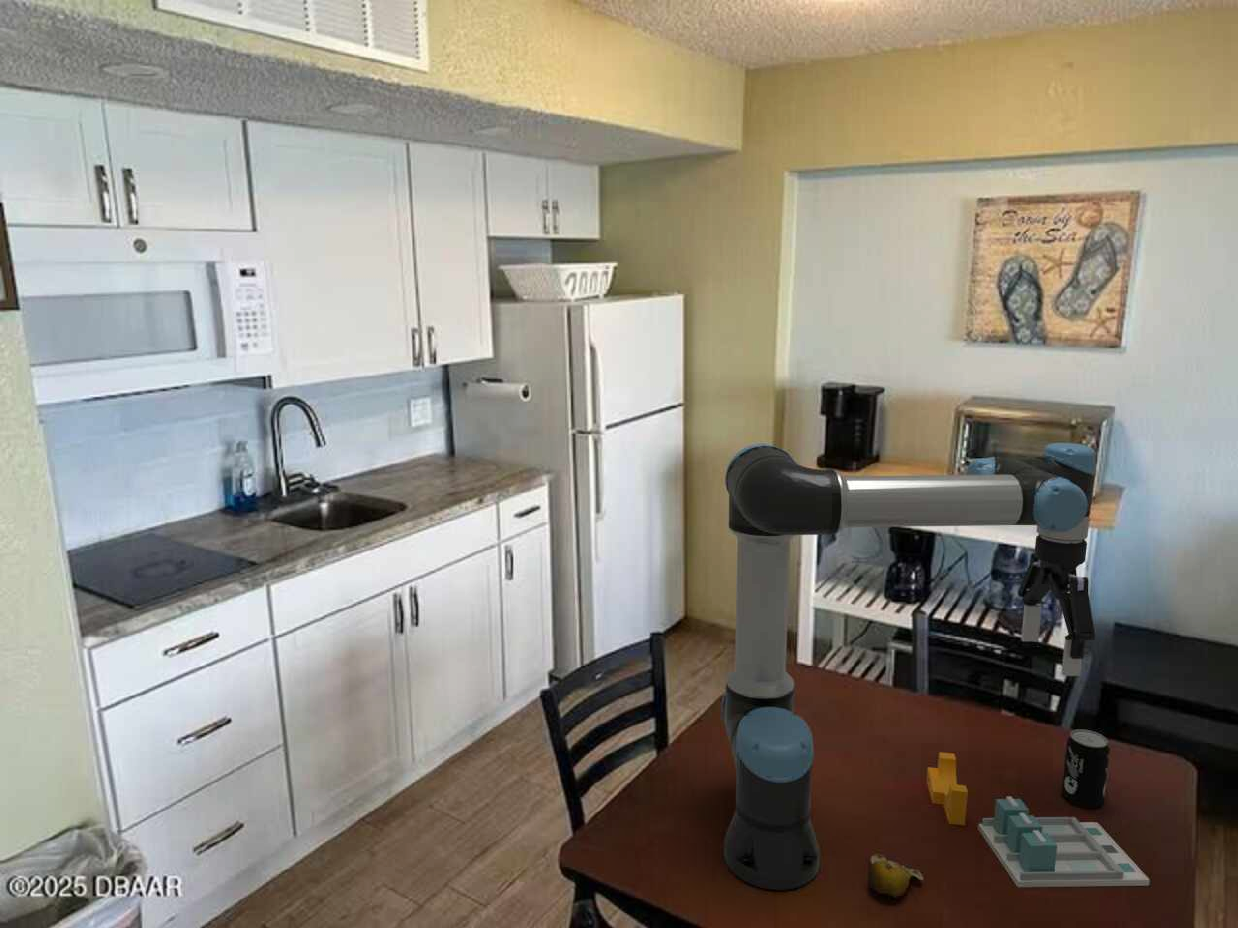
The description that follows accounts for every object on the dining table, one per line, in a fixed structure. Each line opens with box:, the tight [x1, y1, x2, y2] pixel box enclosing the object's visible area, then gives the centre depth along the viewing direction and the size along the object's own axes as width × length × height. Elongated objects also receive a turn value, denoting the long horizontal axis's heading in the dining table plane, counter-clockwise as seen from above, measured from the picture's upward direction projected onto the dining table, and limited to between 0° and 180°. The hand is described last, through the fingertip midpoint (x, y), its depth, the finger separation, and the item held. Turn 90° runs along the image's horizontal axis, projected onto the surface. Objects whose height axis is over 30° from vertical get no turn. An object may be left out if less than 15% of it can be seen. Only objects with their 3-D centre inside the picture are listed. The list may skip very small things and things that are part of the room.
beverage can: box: [1061, 728, 1111, 809], centre depth 147 cm, size 7×7×12 cm
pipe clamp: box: [926, 751, 969, 826], centre depth 147 cm, size 12×4×6 cm, turn 169°
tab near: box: [1019, 830, 1057, 872], centre depth 128 cm, size 4×3×6 cm
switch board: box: [977, 816, 1151, 888], centre depth 133 cm, size 20×14×2 cm
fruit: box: [867, 853, 924, 898], centre depth 127 cm, size 8×8×4 cm
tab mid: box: [1006, 813, 1043, 853], centre depth 132 cm, size 4×3×6 cm
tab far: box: [993, 796, 1030, 835], centre depth 137 cm, size 4×3×6 cm
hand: (1049, 657), depth 142 cm, fingers open, 13 cm apart
